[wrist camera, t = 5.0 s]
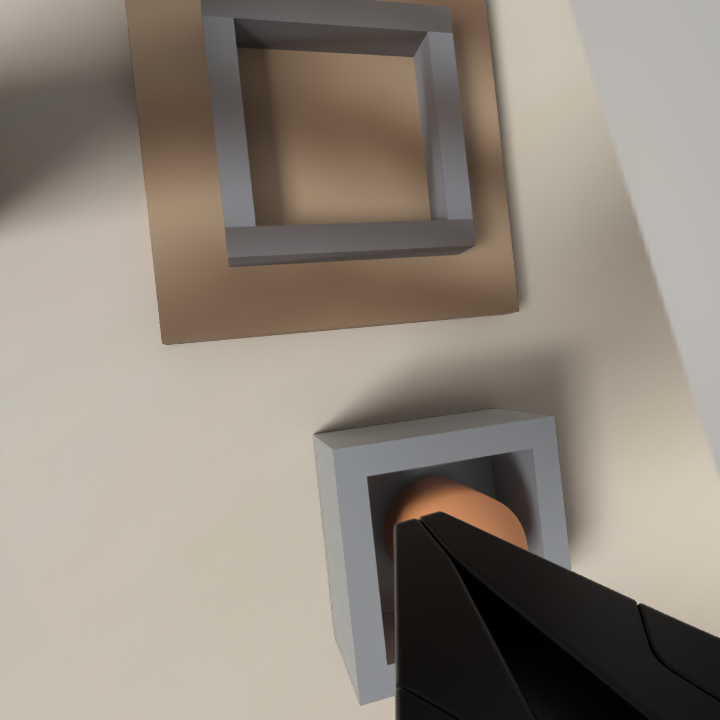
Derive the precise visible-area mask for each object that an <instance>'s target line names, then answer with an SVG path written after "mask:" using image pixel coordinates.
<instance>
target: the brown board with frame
mask: <svg viewBox="0 0 720 720" xmlns="http://www.w3.org/2000/svg"><path fill="white" fill-rule="evenodd" d="M125 3H126V12H127V21H128V31H129V40H130V49H131V58H132V68H133V77H134V86H135V96H136V105H137V114H138V124H139V133H140V142H141V152H142V161H143V170H144V179H145V189H146V198H147V207H148V217H149V226H150V235H151V245H152V254H153V263H154V272H155V282H156V291H157V300H158V310H159V319H160V328H161V338H162V343H163V344H165V345H171V344H182V343H193V342H204V341H216V340H227V339H238V338H249V337H260V336H271V335H282V334H293V333H304V332H315V331H326V330H337V329H348V328H360V327H371V326H382V325H393V324H404V323H415V322H426V321H437V320H448V319H459V318H470V317H481V316H492V315H503V314H510V313H514V312H519V306H518V297H517V287H516V278H515V269H514V260H513V250H512V241H511V232H510V223H509V214H508V204H507V195H506V186H505V177H504V167H503V158H502V149H501V140H500V131H499V121H498V112H497V103H496V94H495V84H494V75H493V66H492V57H491V48H490V38H489V29H488V20H487V11H486V1H485V0H125Z"/></svg>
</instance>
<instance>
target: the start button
mask: <svg viewBox="0 0 720 720" xmlns="http://www.w3.org/2000/svg"><path fill="white" fill-rule="evenodd" d="M438 511H442V512H445V513H447V514H449V515H451V516H453V517H456V518H458V519H460V520H462V521H464V522H466V523H469V524H471V525H473V526H475V527H477V528H479V529H482V530H484V531H486V532H488V533H490V534H492V535H495V536H497V537H499V538H501V539H503V540H505V541H508V542H510V543H512V544H514V545H516V546H518V547H521V548H523V549H525V550H527V551H528V545H527V539H526V536H525V532H524V530H523V527H522V525H521V523H520V522H519V520H518V518H517V517H516V516H515V514H514V513H513V512H512V511H511V510H510V509H509V508H508V507H507V506H505V505H504V504H502V503H501V502H499V501H497V500H495V499H493V498H491V497H489V496H487V495H485V494H483V493H481V492H478V491H476V490H474V489H472V488H470V487H468V486H466V485H464V484H462V483H460V482H458V481H456V480H453V479H451V478H447V477H437V476H436V477H428V478H424V479H421V480H419V481H416V482H415V483H413V484H411V485H410V486H408V487H407V488H406V489H405V490H404V491H403V492H401V493H400V495H399V496H398V497H397V498H396V500H395V501H394V503H393V504H392V506H391V509H390V511H389V513H388V516H387V520H386V525H385V543H386V548H387V551H388V554H389V556H390V558H391V560H392V562H393V564H394V525H395V524H396V523H399V522H402V521H406V520H409V519H413V518H416V519H418V520H419V518H420V517H421V516H424V515H427V514H431V513H434V512H438Z"/></svg>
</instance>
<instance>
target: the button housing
mask: <svg viewBox="0 0 720 720" xmlns="http://www.w3.org/2000/svg"><path fill="white" fill-rule="evenodd" d="M313 440H314V449H315V458H316V468H317V477H318V486H319V495H320V505H321V514H322V523H323V532H324V542H325V551H326V560H327V570H328V579H329V588H330V597H331V607H332V616H333V625H334V634H335V640H336V642H337V645H338V648H339V650H340V653H341V656H342V658H343V661H344V664H345V666H346V669H347V672H348V674H349V677H350V680H351V683H352V685H353V688H354V691H355V693H356V696H357V699H358V701H359V704H360V706H361V705H365V704H368V703H371V702H375V701H378V700H382V699H385V698H388V697H392V696H395V692H396V684H395V586H394V564H393V562H392V560H391V558H390V556H389V554H388V551H387V548H386V543H385V525H386V520H387V516H388V513H389V511H390V509H391V506H392V504H393V503H394V501H395V500H396V498H397V497H398V496H399V495H400V493H401V492H403V491H404V490H405V489H406V488H407V487H408V486H410V485H411V484H413V483H415V482H416V481H419V480H421V479H424V478H428V477H436V476H437V477H447V478H451V479H453V480H456V481H458V482H460V483H462V484H464V485H466V486H468V487H470V488H472V489H474V490H476V491H478V492H481V493H483V494H485V495H487V496H489V497H491V498H493V499H495V500H497V501H499V502H501V503H502V504H504V505H505V506H507V507H508V508H509V509H510V510H511V511H512V512H513V513H514V514H515V516H516V517H517V518H518V520H519V522H520V523H521V525H522V527H523V530H524V532H525V536H526V539H527V545H528V551H529V552H531V553H534V554H536V555H538V556H540V557H542V558H544V559H547V560H549V561H551V562H553V563H555V564H557V565H560V566H562V567H564V568H566V569H568V570H570V571H571V563H570V554H569V545H568V536H567V526H566V517H565V508H564V499H563V490H562V480H561V471H560V462H559V453H558V444H557V434H556V425H555V416H552V415H544V414H537V413H529V412H521V411H514V410H506V409H499V408H493V409H486V410H479V411H472V412H465V413H458V414H451V415H444V416H437V417H430V418H423V419H416V420H409V421H402V422H395V423H388V424H381V425H374V426H367V427H361V428H354V429H347V430H340V431H333V432H326V433H319V434H313Z"/></svg>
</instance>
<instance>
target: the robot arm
mask: <svg viewBox="0 0 720 720" xmlns="http://www.w3.org/2000/svg"><path fill="white" fill-rule="evenodd" d="M394 586H395V684H396V692H395V716H396V720H720V638H719V637H716V636H714V635H712V634H709V633H707V632H705V631H703V630H700V629H698V628H696V627H693V626H691V625H689V624H687V623H684V622H682V621H680V620H678V619H675V618H673V617H671V616H668V615H666V614H664V613H662V612H660V611H658V610H655V609H653V608H651V607H649V606H647V605H645V604H642V603H640V604H639V605H637V602H636V601H635V600H633V599H631V598H629V597H627V596H625V595H622V594H620V593H618V592H616V591H614V590H612V589H609V588H607V587H605V586H603V585H601V584H599V583H596V582H594V581H592V580H590V579H588V578H586V577H583V576H581V575H579V574H577V573H575V572H573V571H570V570H568V569H566V568H564V567H562V566H560V565H557V564H555V563H553V562H551V561H549V560H547V559H544V558H542V557H540V556H538V555H536V554H534V553H531V552H529V551H527V550H525V549H523V548H521V547H518V546H516V545H514V544H512V543H510V542H508V541H505V540H503V539H501V538H499V537H497V536H495V535H492V534H490V533H488V532H486V531H484V530H482V529H479V528H477V527H475V526H473V525H471V524H469V523H466V522H464V521H462V520H460V519H458V518H456V517H453V516H451V515H449V514H447V513H445V512H442V511H438V512H434V513H431V514H427V515H424V516H421V517H420V518H419V520H418V519H416V518H413V519H409V520H406V521H402V522H399V523H396V524H395V525H394Z"/></svg>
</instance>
